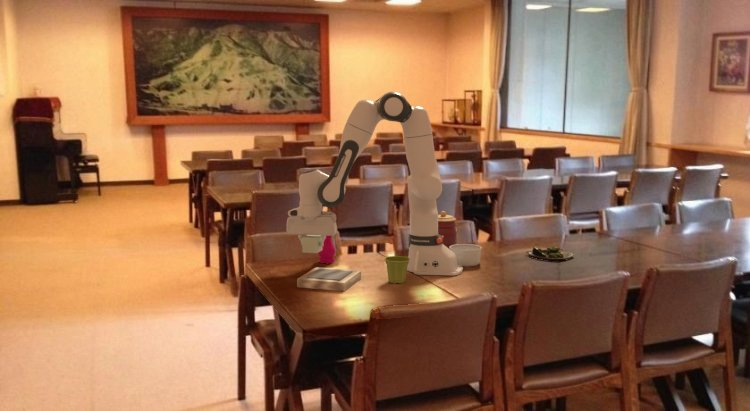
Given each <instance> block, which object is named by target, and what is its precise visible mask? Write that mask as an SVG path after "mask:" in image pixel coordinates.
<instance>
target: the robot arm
mask: <svg viewBox="0 0 750 411" xmlns="http://www.w3.org/2000/svg"><path fill="white" fill-rule="evenodd" d="M428 113H429V112H428V111H427V109H426V108H424V107H422V106H417V105H416V106H412V105H411V104H410V103H409V101H408V100H407V98H406V97H404V95H402V93H400V92H397V91H387V92H385V93H383V95H381V96H380V97H379V98H378V99H376V100H375V101H372V100H369V99H361V100H359V101H358V102H357V103H356V104H355V106H354V107H353V109H352V110H351V112H350V114H349V116H348V118H347V119H346V122H345V124H344V127H343V130H342V135H341V138H340V145H339V152H338V155H337V157H336V160H335V163H334V165H333V167H332V170H331V172H330V174H326V173H325V172H323V171H321V170H320V169H317V168H313V169H307V170H304V171H302V173H300V175H299V179H298V180H299V181H298V194H299V198H300V199H299V206H296V207H295V208H292V209H290V210H288V211H287V215H288V217H287V220H286V232H287V233H288V235H297V237H298V239H299V241H300V246H301V247H302V237H304V236H306V235H321V238H322V240H321V241H320V242H319V246H321V247H323V246H324V240H325V238H326V236H331V237H332V236H335V235H336V234H337V233H338V226H337V214H336V213H334V212H333V211H324V210H323V206H324V207H327V208H336V207H338V206H339V205H341V204H342V203H343V201H344V199H345V194H346V191H347V188H346V181H347V179H348V176H349V174H350V172H351V169H352V167H353V165H354V163H355V162H356V160H357V158H358V157H359V156H360V155H361V154H362V152H363V151H364V150H365V148H367V145H368V144H369V142H370V140H371V138H372V136H373V134H374V132H375V130H376V127H377V125H379V123H380V122H382V121H383V120H385V121H388V122H396V123H400V125H401V128H402V132H403V133H402V134H403V141H404V142H403V143H404V148H405V154H406V155H405V156H406V161H407V164H408V168H409V172H410V175H409V176H408V178H407V196H408V206H409V208H408V209H409V234H408V240H407V241H408V243H407V244H408V256H407V257H408V258H410V261H409V264H408V267H407V272H411V273H413V274H415V275H419V276H421V275H422V276H423V275H424V276H458V275H460V274H462V273H463V270H464V266H461V265H457V258H456V255H455V253H454V252H452V251H451V250H450V249H448V248H447V247H446V246H445V245H443V244H442V243H443V236H441V235H439V234H438V215H439V211H438V207H437V205H438V204H437V199H438V198H440V196H441V194H442V192H443V184H442V180H441V179H442V178H441V174H440V170H439V165H438V161H437V158H436V151H435V146H434V145H435V144H434V137H433V129H432V128H433V127H432V124H431V120H430V116H429V114H428Z"/></svg>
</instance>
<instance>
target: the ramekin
mask: <svg viewBox="0 0 750 411" xmlns="http://www.w3.org/2000/svg"><path fill="white" fill-rule="evenodd" d="M449 249H450V250H451V251H452V252H454V253H455V255H456V258H457V265H461V266H462V267H475V266H478V265H479V264H480V261H481V257H482V250H483V248H482V246H480V245H477V244H471V243H457V244H456V245H451V246H450V247H449Z"/></svg>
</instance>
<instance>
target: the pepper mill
mask: <svg viewBox="0 0 750 411" xmlns="http://www.w3.org/2000/svg"><path fill="white" fill-rule="evenodd" d="M322 248H323V250H322V251H320V252H318V253H317V254H318V256H319V258H318V261H319V263H320V264H323V263H330V264H334V263H335V257H334V256H335V255H336V247H335V245H334V243H333V240H332V236H326V238H325V240H324V246H323V247H322ZM333 262H334V263H333Z"/></svg>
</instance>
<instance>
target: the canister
mask: <svg viewBox="0 0 750 411" xmlns="http://www.w3.org/2000/svg"><path fill="white" fill-rule="evenodd" d="M439 213H440V214H438V234H439V235H441V236H443V243H442V244H443V245H445V246H446V247H447V248H448V249H449V247H450V246H451V245H456V244H458V230H457V227H458V225H459V224H458V223H457V222H456V221H457V218H456V217H454V216H453V215H450V214H447V212H446V211H445V210H441V211H440V212H439Z"/></svg>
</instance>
